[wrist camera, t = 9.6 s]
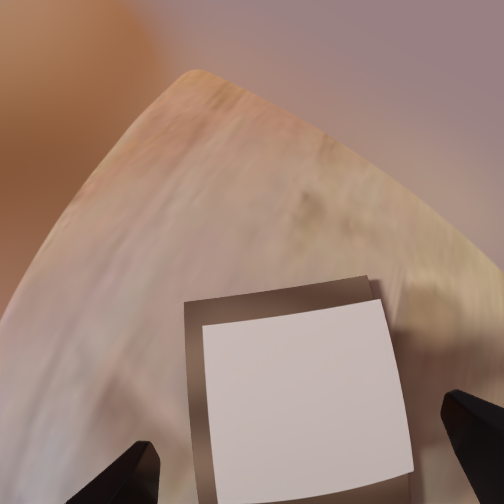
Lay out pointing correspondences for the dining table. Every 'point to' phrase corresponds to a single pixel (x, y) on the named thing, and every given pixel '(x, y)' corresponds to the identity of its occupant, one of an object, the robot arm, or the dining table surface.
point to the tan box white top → (304, 404)
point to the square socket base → (257, 307)
